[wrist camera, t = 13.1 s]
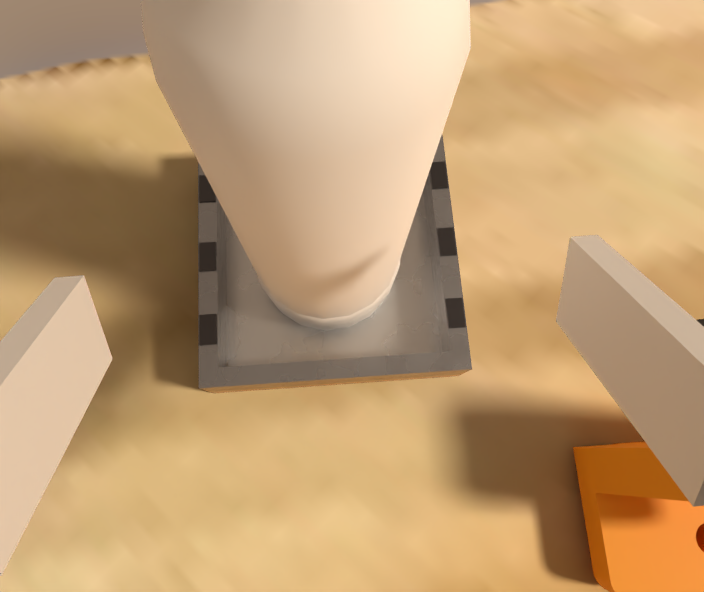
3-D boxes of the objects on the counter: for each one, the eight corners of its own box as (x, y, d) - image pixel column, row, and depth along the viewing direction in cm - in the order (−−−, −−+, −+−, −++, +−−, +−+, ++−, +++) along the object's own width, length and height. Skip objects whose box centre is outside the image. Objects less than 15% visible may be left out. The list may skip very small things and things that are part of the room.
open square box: (213, 393, 31) (198, 388, 27) (211, 168, 34) (197, 140, 31) (458, 375, 31) (472, 368, 28) (432, 156, 34) (441, 126, 31)
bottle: (244, 315, 31) (-1291, -1587, 2) (278, 192, 33) (-207, -1680, 4) (381, 345, 31) (1150, -1352, 2) (407, 218, 33) (958, -1585, 3)
